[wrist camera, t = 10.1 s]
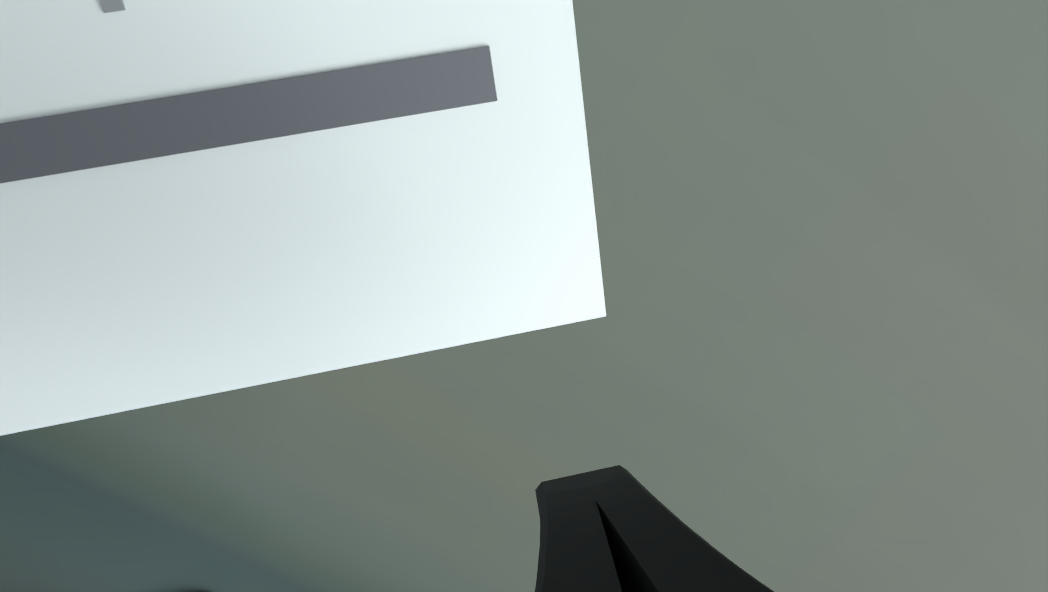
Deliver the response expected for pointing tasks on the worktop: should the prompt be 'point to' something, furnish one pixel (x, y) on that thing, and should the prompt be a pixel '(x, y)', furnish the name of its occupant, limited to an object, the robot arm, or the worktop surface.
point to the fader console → (279, 191)
